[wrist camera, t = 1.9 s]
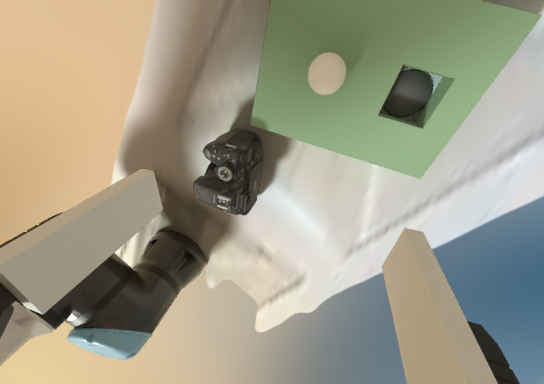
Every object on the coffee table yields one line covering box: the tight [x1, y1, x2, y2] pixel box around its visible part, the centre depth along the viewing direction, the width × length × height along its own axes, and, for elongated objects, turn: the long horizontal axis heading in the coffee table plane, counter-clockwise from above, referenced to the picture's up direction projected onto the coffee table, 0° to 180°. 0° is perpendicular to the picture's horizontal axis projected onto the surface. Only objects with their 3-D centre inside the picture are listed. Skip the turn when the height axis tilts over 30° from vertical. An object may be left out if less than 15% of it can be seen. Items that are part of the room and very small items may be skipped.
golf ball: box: [308, 52, 346, 95], centre depth 23 cm, size 4×4×4 cm
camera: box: [193, 130, 263, 215], centre depth 33 cm, size 13×10×10 cm
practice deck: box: [250, 0, 542, 179], centre depth 25 cm, size 24×17×3 cm
